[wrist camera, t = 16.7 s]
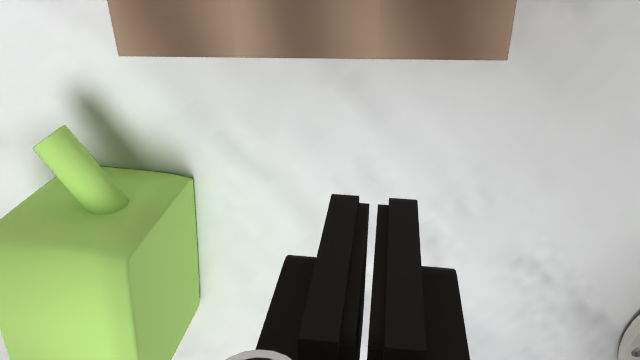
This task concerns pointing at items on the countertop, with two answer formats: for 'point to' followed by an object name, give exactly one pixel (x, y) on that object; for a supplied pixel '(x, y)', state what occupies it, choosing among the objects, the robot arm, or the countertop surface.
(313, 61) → the countertop surface
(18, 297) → the gearbox
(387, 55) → the block
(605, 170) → the countertop surface
